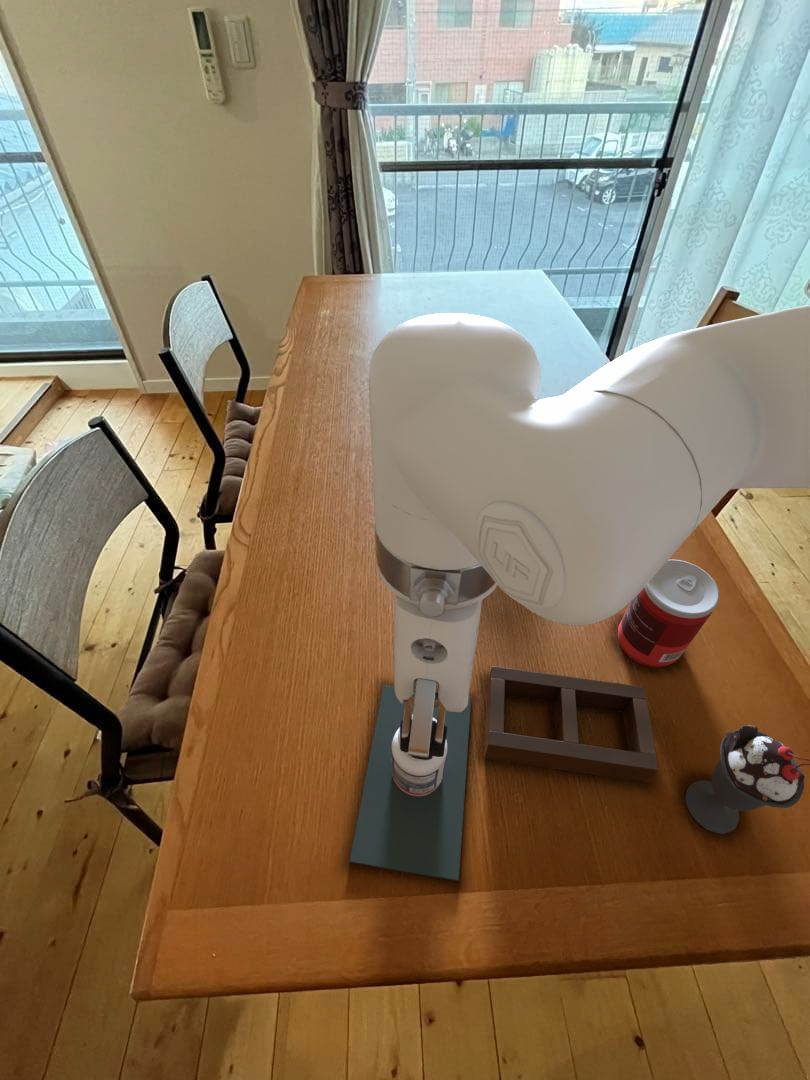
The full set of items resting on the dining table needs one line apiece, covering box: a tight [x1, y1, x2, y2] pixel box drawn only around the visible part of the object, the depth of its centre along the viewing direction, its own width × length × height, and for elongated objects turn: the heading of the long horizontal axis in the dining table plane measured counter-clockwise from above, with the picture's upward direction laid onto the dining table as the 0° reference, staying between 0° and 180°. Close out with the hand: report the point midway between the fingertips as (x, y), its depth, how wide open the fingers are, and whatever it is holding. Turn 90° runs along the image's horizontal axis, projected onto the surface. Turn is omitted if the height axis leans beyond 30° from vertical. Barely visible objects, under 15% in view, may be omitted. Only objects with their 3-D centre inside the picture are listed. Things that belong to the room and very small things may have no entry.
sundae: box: [685, 724, 810, 834], centre depth 49 cm, size 7×7×15 cm
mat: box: [349, 684, 472, 882], centre depth 56 cm, size 18×10×1 cm, turn 172°
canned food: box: [617, 559, 720, 668], centre depth 64 cm, size 8×8×11 cm
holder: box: [483, 665, 659, 784], centre depth 59 cm, size 9×16×4 cm, turn 82°
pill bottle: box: [392, 714, 447, 796], centre depth 53 cm, size 5×5×9 cm
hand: (429, 691), depth 44 cm, fingers open, 9 cm apart
